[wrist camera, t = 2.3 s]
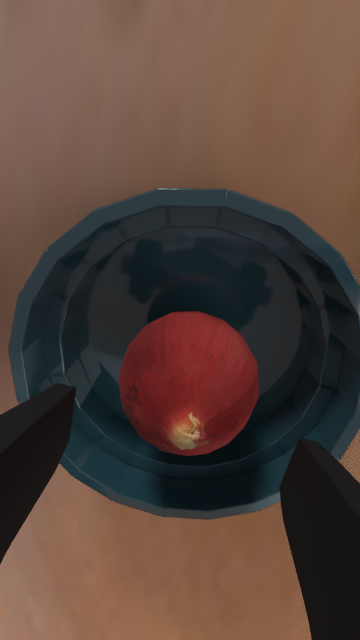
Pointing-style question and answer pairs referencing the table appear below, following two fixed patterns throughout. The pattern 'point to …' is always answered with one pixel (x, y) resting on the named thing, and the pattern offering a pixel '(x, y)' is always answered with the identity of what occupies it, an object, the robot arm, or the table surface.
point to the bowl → (208, 297)
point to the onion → (188, 383)
